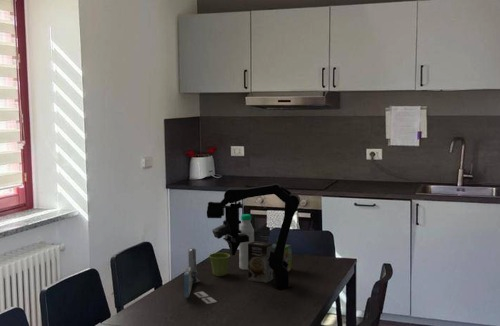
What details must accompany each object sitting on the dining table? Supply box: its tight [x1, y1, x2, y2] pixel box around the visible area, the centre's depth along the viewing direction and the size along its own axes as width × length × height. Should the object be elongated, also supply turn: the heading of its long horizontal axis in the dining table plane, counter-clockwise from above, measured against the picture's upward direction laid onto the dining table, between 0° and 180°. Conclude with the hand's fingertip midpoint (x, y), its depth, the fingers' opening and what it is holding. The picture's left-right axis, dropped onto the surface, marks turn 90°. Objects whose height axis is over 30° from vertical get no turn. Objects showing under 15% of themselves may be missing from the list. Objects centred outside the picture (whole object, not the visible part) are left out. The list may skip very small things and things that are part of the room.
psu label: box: [193, 291, 210, 299], centre depth 249 cm, size 6×4×1 cm, turn 27°
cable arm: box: [183, 266, 194, 298], centre depth 253 cm, size 22×2×9 cm, turn 0°
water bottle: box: [238, 213, 255, 271], centre depth 285 cm, size 7×7×25 cm
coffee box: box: [247, 240, 274, 284], centre depth 268 cm, size 9×6×16 cm
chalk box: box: [272, 237, 293, 274], centre depth 281 cm, size 9×9×15 cm
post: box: [187, 248, 201, 284], centre depth 267 cm, size 5×5×14 cm
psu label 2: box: [200, 296, 218, 305], centre depth 242 cm, size 6×4×1 cm, turn 27°
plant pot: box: [208, 252, 231, 277], centre depth 277 cm, size 9×9×9 cm
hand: (233, 255), depth 260 cm, fingers closed
